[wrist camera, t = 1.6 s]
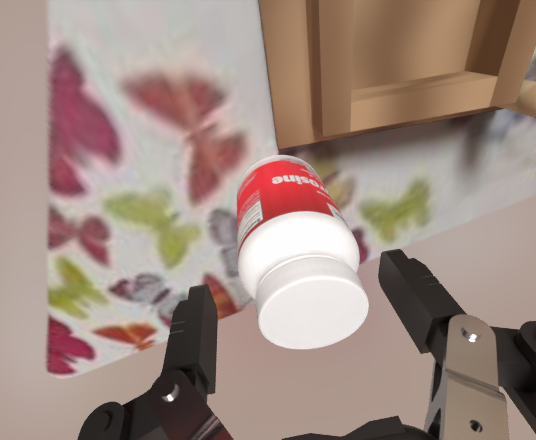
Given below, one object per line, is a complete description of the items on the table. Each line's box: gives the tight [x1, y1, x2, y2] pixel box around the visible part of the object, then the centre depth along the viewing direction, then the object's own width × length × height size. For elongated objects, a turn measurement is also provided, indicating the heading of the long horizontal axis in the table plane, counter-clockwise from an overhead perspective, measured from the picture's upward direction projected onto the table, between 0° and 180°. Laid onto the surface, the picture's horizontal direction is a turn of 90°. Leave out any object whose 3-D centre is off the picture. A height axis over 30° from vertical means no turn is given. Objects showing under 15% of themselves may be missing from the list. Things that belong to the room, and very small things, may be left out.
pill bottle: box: [237, 155, 369, 350], centre depth 16 cm, size 6×6×11 cm
